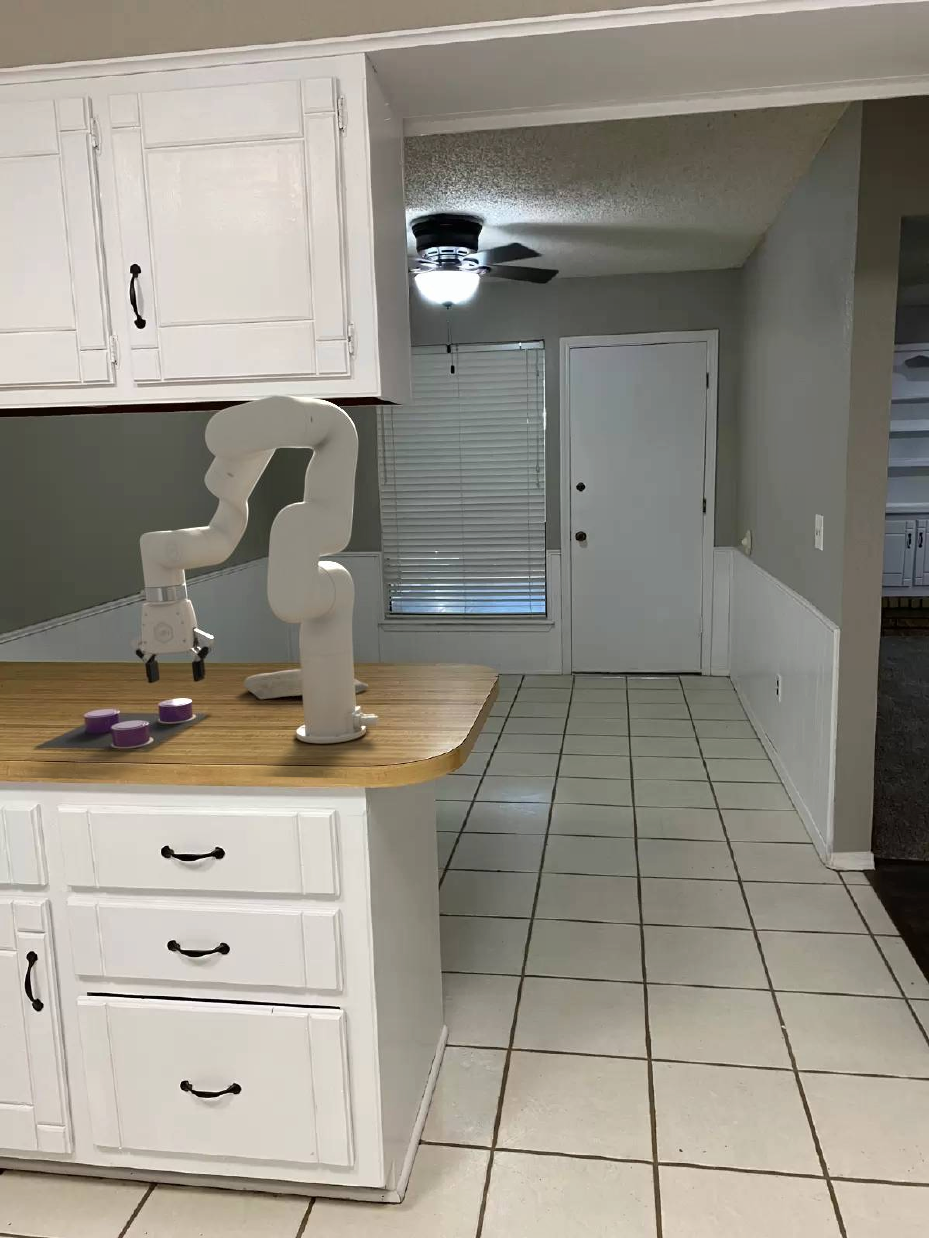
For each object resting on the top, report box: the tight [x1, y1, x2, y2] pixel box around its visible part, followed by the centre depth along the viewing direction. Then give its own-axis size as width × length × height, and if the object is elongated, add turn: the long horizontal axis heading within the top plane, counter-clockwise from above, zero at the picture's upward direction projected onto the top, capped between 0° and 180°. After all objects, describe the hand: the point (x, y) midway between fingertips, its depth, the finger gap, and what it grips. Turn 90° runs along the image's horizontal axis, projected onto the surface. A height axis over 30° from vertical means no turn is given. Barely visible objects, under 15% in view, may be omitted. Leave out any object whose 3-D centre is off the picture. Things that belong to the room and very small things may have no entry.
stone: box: [242, 668, 369, 700], centre depth 199 cm, size 28×7×15 cm
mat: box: [36, 712, 210, 751], centre depth 172 cm, size 22×24×1 cm
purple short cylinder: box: [111, 720, 150, 747], centre depth 163 cm, size 6×6×3 cm
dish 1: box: [83, 708, 121, 734], centre depth 173 cm, size 6×6×3 cm
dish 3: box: [157, 698, 194, 722], centre depth 179 cm, size 6×6×3 cm
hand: (176, 680), depth 178 cm, fingers open, 9 cm apart
